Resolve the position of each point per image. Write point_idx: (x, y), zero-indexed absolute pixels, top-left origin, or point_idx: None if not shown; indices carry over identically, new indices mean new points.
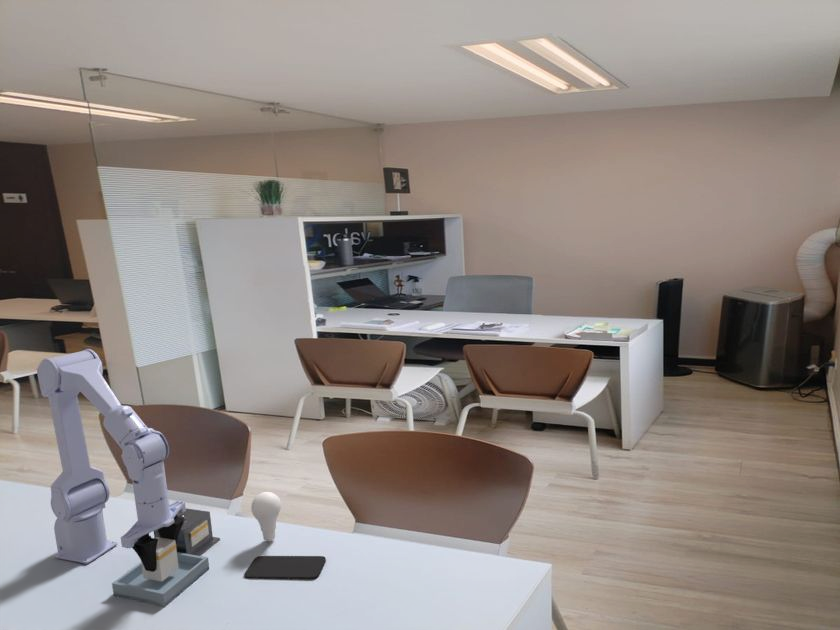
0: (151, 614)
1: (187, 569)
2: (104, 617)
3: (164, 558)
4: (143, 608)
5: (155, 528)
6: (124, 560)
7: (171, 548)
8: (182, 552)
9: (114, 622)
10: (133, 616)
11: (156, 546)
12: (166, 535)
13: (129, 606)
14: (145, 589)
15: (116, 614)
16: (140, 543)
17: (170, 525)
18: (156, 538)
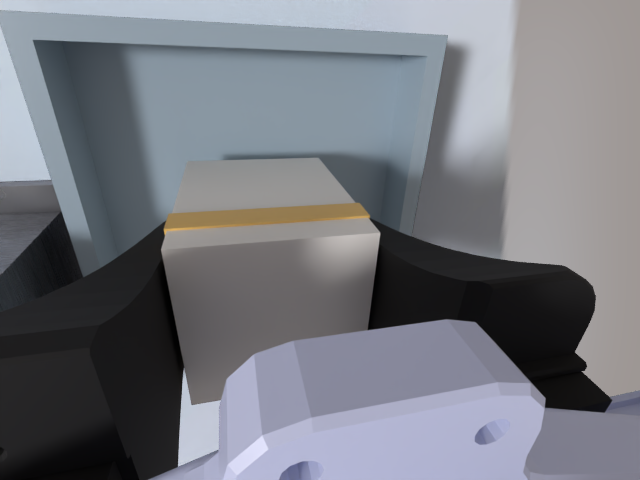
0: (464, 63)
1: (136, 138)
2: (481, 229)
3: (304, 201)
4: (430, 133)
5: (585, 435)
6: (196, 422)
7: (227, 219)
8: (55, 256)
9: (506, 175)
10: (476, 133)
11: (414, 265)
12: (167, 355)
13: (423, 197)
14: (417, 170)
15: (466, 205)
16: (571, 362)
17: (131, 410)
18: (209, 392)
